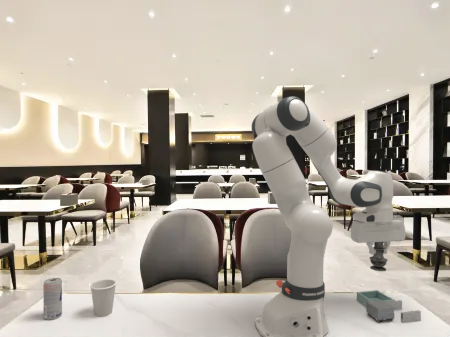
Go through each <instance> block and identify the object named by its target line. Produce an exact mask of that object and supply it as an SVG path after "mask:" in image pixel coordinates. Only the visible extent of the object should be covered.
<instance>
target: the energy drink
mask: <svg viewBox="0 0 450 337" xmlns="http://www.w3.org/2000/svg"><path fill="white" fill-rule="evenodd" d="M62 281H63V280H62V277H61V278H60V277H52V278H48V279H45V280H44V282H43V284H42V285H43V286H42V287H43V296H42V297H43V319H45V320H47V321H51V320H52V321H53V320H55V319H56V320H57V319H59V318H60V317H61V316H62V313H63V301H62V300H63V282H62Z"/></svg>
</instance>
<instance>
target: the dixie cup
mask: <svg viewBox="0 0 450 337" xmlns="http://www.w3.org/2000/svg"><path fill="white" fill-rule="evenodd" d="M89 285H90V286H89V288H90V290H91V292H90V293H91V299H92V306H93V312H94V313H93V314H94V316H95V317H96V318H97V317H98V318H103V317H107V316H109V315H111V314H112V313H113V308H114V299H115V294H116V293H115V292H116V285H117V281H116V280H114V279H100V280H96V281H94V282H92V283H91V284H89Z"/></svg>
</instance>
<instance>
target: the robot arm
mask: <svg viewBox="0 0 450 337" xmlns="http://www.w3.org/2000/svg"><path fill="white" fill-rule="evenodd" d="M325 122H326V121H324V120H323V118H321V117H320V115H318V114H317V113H316V111H314V110H313V109H312V108H311V107H308V104H306V103H305V102H304V101H303V100H302V99H301V98H300V97H298V96H291V95H290V96H287V97H284V98H282V99H281V100H279V101H278V102H276V103H273V104H271V105H269V106H268V107H266V108H264V110H262V112H260V113H258V114H257V115H256V116H255V117H254V119H253V120H252V122H251V132H252V133H251V134H252V136H253V139H254V140H253V142H252V151H253V154H254V157H255V160H256V163H257V166H258V168H259V170H260V171H261V174H262V176H263V177H264V179H265V182H266V183H267V184H266V185H267V186H268V188H269V190H270V192H271V194H272V196H273V198H274V201H275V204H276V206H277V208H278V210H279V213H280V216H281V217H282V219H283V222H284V223H285V225H286V227H287V228H288V229H289V231H290V234H291V235H290V236H291V238H290V245H289V249H288V250H289V251H288V253H287V256H286V257H287V258H286V260H287V261H286V267H287V268H286V271H287V272H286V277H287V278H286V279H285V281H284V282H283V281H282V280H281V279H277V280H276V283H275V285H276V286H277V287H278V288H281V291H280V292H279V293H278V294H276V295H275V296H274V297H273V298H271V299H269V300H268V302H266V303H265V304H264V306H263V311H262V315H260V316H257V317H256V319H255V321H254V322H255V325H254V326H255V327H256V330H257V331H258V333H259V334H260V336H262V337H324V336H326V335H327V334H328V332H329V326H328V322H327V318H326V311H325V295H326V290H325V286H326V285H325V282H324V264H325V263H324V261H325V259H324V258H325V254H326V250H327V249H326V248H327V244H328V239H329V238H330V237H331V235H332V232H333V227H334V226H333V221H332V219H331V217H330V216H329V214H328V213H327V212H326V210H324V208H322V207H320V206H318V205H316V204H315V203H314V202H313V200H312V198H311V196H310V192H309V190H308V187H307V183H306V182H307V181H306V178H305V177H304V174H303V173H302V171H301V169H300V167H299V164H298V162H297V161H296V159H295V157H294V155H293V152H292V151H291V150H290V147H289V146H288V144H287V137H288V136H290V135H291V136H292V137H294V138H295V140H296V141H297V143H298V145H299V146H300V147H301V149H303V151H304V152H305V154H306V155H307V156H308V158H309V159H310V161H311V163H312V165H313V166H314V168H315V169H316V171H317V172H318V175H320V177H321V179H322V180H323V181H324V183H325V185H326V187H327V190H328V195H329V197H330V198H331V200H332V201H333V202H334V203H335V204H338V205H345V206H351V207H356V208H365V209H362V210H360V211H358V212H354V213H353V214H352V219H353V221H352V224H351V228H350V239H351V240H352V242H355V243H357V244H362V243H363V244H364V243H366V246H367V248H368V253H369V254H370V255H374V254H376V250H375V249H374V248H373V247H374V242H383V248H384V250H383V255H385V254H386V255H388V249H389V248H390V246H391V242H403V241H405V239H406V228H405V219H404V217H403V216H401V215H399V214H396V215H395V214H394V207H393V206H394V205H393V198H394V181H393V177H392V174H390V172H388V171H383V170H373V169H372V170H369V171H368V172H367V173H366V174H364V175H363V176H361V177H359V178H356V179H351V178H347V177H345V176H342V174H341V173H340V172H339V170H338V169H337V167H336V165H335V164H334V162H333V161H332V158H331V156H333V154H334V153H335V151H336V149H337V146H338V142H337V141H338V140H337V139H336V136H335V135H334V132H332V130H331V129H330V127H329V126H328V125H327V123H325Z"/></svg>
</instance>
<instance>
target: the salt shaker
mask: <svg viewBox="0 0 450 337" xmlns="http://www.w3.org/2000/svg"><path fill="white" fill-rule="evenodd" d="M383 245H384V243H383V242H374V245H373V248H374V249H375V250H376V254H372V256H370V257H369V260H370V263H371V266H370V269H371V270H372V271H377V272H386V271H387V268H386V267H385V266H386V265H387V262H388V261H389V260H388V259H387V258H386V257H384V254H383V250H384V248H383Z"/></svg>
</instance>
